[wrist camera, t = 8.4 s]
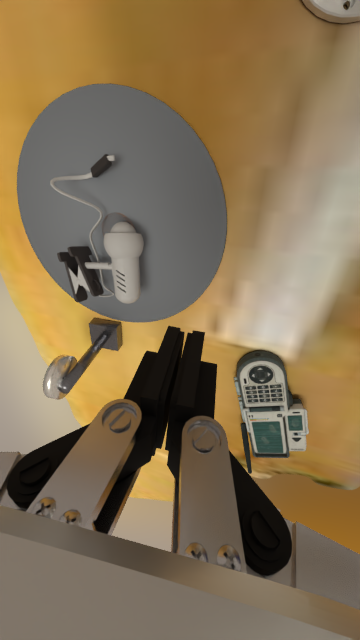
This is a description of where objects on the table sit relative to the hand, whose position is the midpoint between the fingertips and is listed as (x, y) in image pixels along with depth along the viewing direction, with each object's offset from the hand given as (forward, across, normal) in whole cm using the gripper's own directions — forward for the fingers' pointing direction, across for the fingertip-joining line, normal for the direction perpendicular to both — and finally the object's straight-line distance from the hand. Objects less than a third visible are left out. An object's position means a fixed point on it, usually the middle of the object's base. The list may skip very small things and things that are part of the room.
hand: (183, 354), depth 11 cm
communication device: (+24, -16, +28) cm, 40 cm away
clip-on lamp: (+24, +15, +1) cm, 28 cm away
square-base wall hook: (+24, +16, +19) cm, 34 cm away
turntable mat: (+24, +13, +1) cm, 27 cm away
